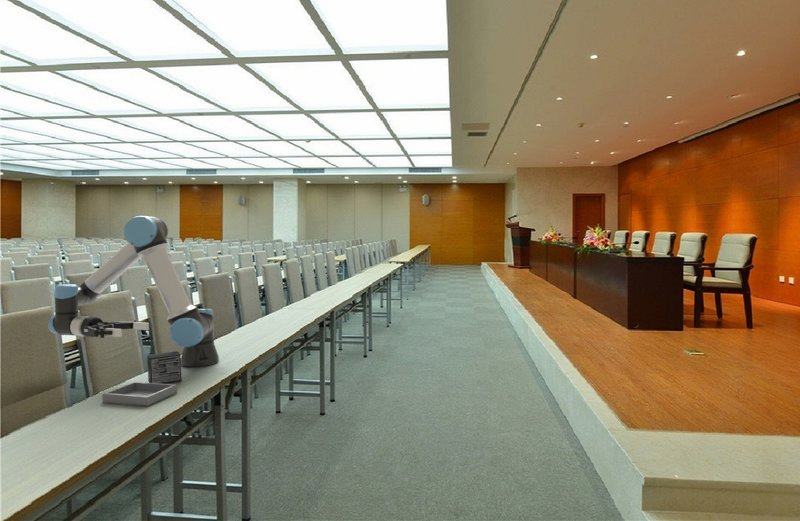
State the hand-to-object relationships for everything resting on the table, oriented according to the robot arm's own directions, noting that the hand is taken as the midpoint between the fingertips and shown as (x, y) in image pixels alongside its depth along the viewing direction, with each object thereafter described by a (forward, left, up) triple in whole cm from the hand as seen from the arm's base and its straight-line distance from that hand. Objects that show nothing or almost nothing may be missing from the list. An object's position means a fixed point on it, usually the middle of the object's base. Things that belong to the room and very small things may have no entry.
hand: (135, 329), depth 189 cm
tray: (+17, +17, -19) cm, 31 cm away
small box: (-1, +12, -19) cm, 23 cm away
